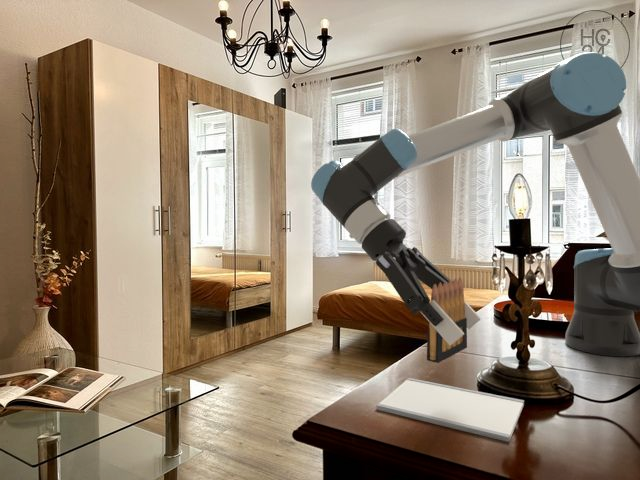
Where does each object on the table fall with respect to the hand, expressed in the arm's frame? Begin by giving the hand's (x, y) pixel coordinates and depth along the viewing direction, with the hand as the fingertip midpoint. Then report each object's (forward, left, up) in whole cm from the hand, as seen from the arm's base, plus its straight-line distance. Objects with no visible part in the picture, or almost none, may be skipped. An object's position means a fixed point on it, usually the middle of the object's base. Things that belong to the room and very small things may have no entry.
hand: (466, 331), depth 68 cm
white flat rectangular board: (+3, 0, -13) cm, 13 cm away
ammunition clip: (+3, 0, -4) cm, 5 cm away
